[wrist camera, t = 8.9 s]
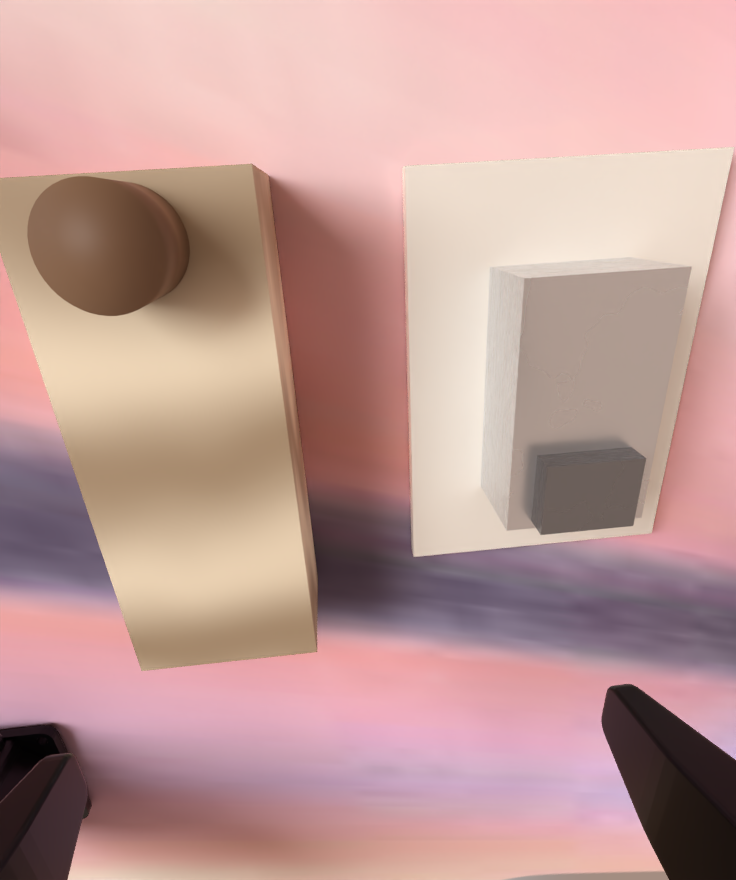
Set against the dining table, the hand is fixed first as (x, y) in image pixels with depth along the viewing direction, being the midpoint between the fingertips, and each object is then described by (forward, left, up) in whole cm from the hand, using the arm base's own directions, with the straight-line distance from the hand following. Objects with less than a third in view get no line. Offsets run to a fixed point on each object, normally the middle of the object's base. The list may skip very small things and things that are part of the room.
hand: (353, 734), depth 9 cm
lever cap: (+2, -8, -11) cm, 13 cm away
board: (+2, -8, -11) cm, 14 cm away
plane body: (+2, +4, -11) cm, 12 cm away
